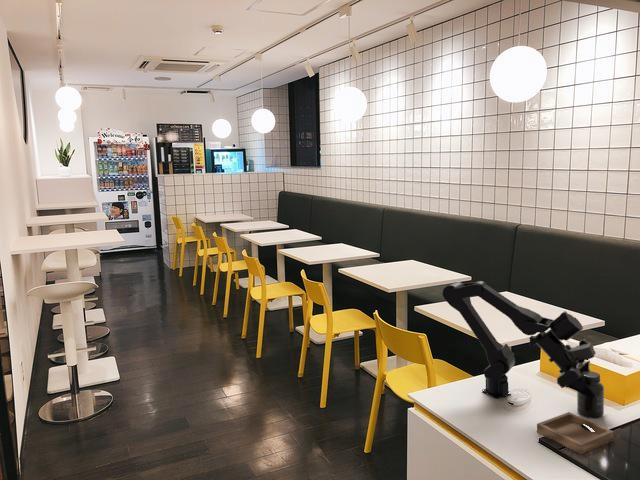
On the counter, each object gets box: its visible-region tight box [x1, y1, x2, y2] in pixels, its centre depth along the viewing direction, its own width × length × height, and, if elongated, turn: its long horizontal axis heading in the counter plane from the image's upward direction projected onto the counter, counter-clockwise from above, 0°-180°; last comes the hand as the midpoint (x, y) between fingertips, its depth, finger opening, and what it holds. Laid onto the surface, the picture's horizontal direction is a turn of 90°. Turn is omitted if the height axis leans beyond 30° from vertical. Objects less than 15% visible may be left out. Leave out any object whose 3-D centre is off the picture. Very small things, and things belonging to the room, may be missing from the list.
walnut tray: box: [536, 411, 615, 455], centre depth 136 cm, size 13×13×2 cm
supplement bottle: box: [576, 370, 605, 419], centre depth 147 cm, size 7×7×12 cm
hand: (596, 392), depth 146 cm, fingers closed on supplement bottle, 7 cm apart
